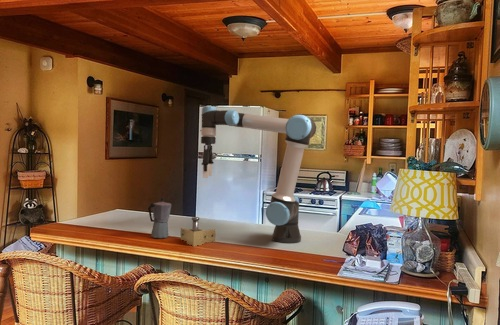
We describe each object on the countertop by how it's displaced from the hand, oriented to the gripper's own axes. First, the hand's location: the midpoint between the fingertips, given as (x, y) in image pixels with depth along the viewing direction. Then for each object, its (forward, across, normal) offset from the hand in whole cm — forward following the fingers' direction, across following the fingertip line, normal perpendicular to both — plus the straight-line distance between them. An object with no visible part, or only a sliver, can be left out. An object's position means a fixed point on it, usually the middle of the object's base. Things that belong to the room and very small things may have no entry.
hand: (207, 176), depth 211 cm
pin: (+32, +17, -3) cm, 36 cm away
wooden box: (+32, +11, -3) cm, 34 cm away
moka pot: (+32, +5, -23) cm, 40 cm away
